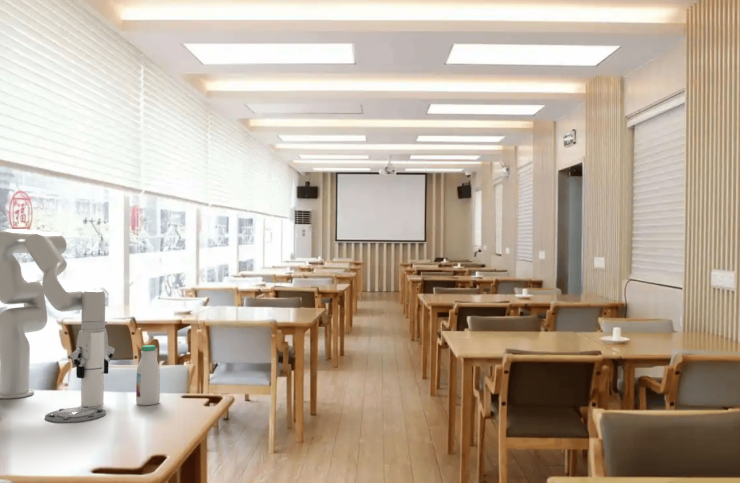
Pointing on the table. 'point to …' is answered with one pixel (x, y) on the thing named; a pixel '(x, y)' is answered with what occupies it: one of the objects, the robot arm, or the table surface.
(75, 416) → the flange
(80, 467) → the table surface
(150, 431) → the table surface
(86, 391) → the cylindrical container
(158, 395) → the milk bottle
